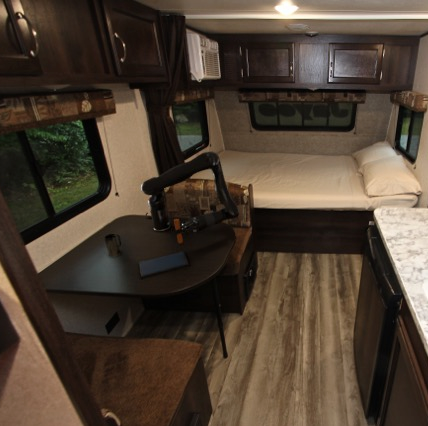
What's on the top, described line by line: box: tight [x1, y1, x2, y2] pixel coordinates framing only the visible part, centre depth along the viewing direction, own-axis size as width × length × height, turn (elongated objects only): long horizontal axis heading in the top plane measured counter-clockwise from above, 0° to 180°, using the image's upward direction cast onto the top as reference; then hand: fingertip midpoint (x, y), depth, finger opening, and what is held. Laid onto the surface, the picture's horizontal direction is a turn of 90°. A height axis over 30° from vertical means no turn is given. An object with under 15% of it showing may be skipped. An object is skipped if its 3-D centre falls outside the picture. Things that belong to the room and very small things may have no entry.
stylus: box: [173, 218, 184, 246], centre depth 148 cm, size 2×2×14 cm
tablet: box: [138, 250, 190, 279], centre depth 150 cm, size 14×22×1 cm, turn 120°
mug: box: [104, 233, 122, 258], centre depth 156 cm, size 8×6×12 cm
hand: (172, 232), depth 146 cm, fingers closed on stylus, 2 cm apart
